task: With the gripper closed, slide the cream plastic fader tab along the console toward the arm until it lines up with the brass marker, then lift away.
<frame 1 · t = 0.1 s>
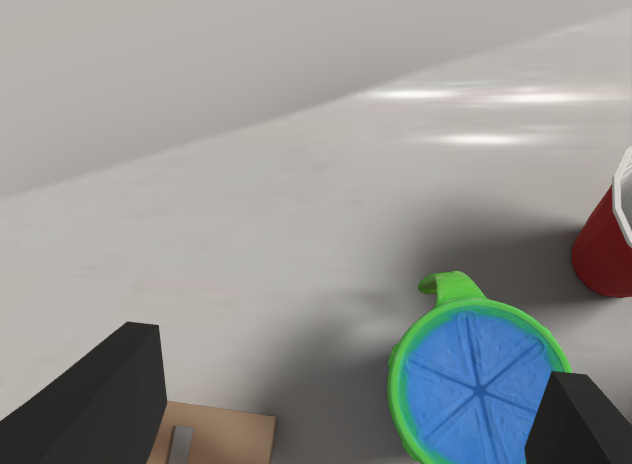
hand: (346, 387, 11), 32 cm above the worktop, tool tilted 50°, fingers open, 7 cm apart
plastic cup: (609, 260, 44), on the worktop
snack cup: (445, 397, 41), on the worktop
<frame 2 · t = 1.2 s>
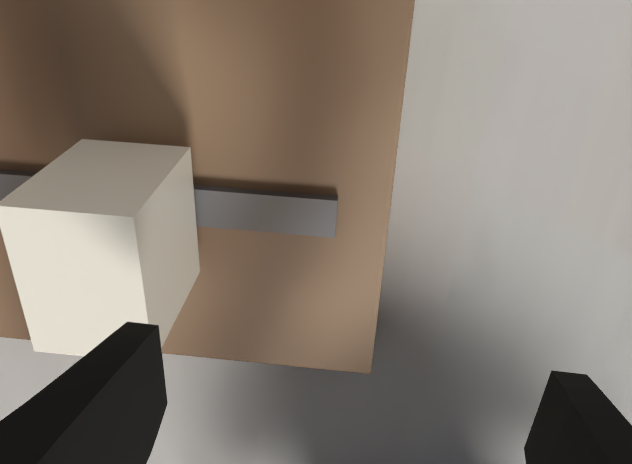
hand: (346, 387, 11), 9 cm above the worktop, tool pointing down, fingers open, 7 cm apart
fader console: (55, 163, 19), on the worktop
fader tab: (115, 244, 14), point 5 cm above the worktop, slide at 0.0 cm
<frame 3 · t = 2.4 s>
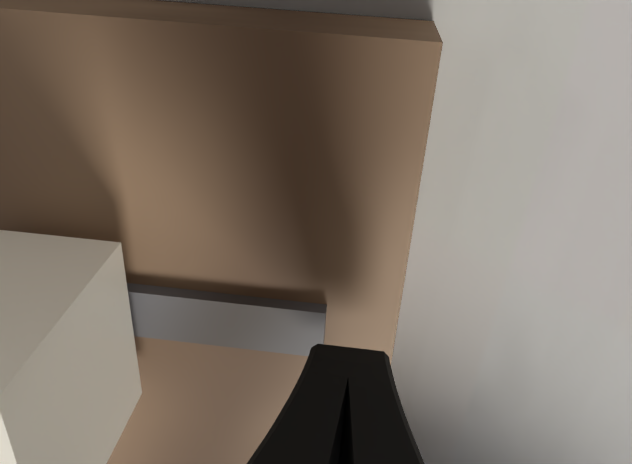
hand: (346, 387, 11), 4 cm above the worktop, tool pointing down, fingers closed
fader tab: (8, 385, 10), point 5 cm above the worktop, slide at 0.0 cm
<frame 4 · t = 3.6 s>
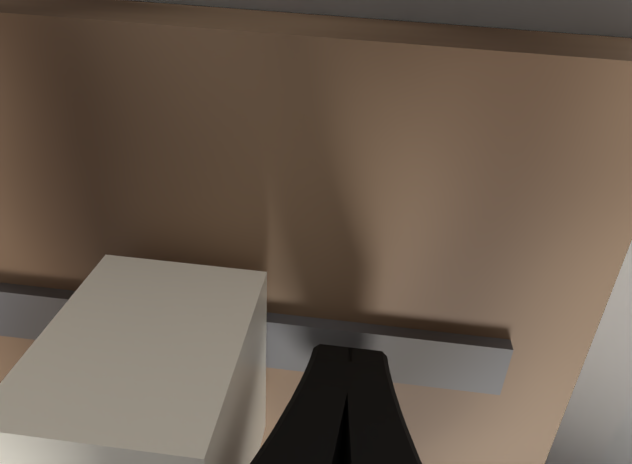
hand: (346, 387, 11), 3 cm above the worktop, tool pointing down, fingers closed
fader console: (92, 259, 14), on the worktop
fader tab: (156, 426, 9), point 5 cm above the worktop, slide at 0.7 cm, touching gripper
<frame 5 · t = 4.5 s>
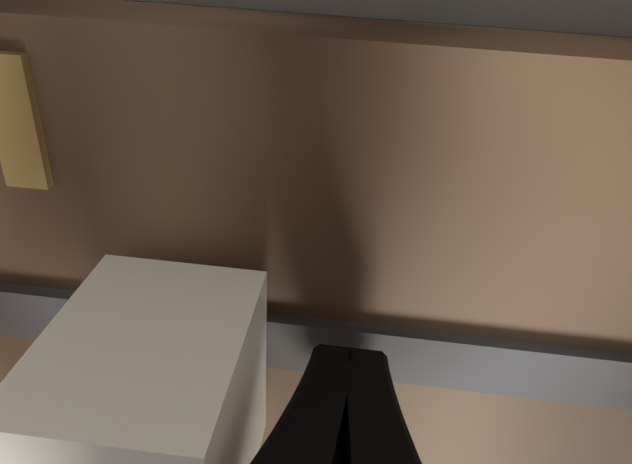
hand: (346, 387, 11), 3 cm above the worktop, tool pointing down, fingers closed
fader console: (306, 282, 13), on the worktop
fader tab: (156, 426, 10), point 5 cm above the worktop, slide at 6.0 cm, touching gripper
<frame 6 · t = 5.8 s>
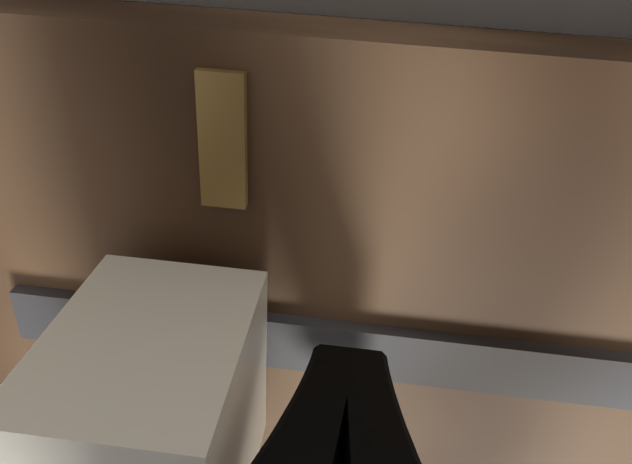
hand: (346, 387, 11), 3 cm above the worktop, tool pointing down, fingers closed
fader console: (461, 299, 13), on the worktop
fader tab: (157, 425, 10), point 5 cm above the worktop, slide at 9.6 cm, touching gripper
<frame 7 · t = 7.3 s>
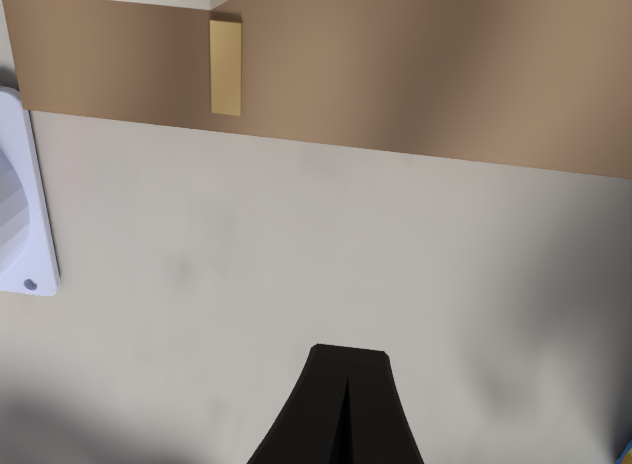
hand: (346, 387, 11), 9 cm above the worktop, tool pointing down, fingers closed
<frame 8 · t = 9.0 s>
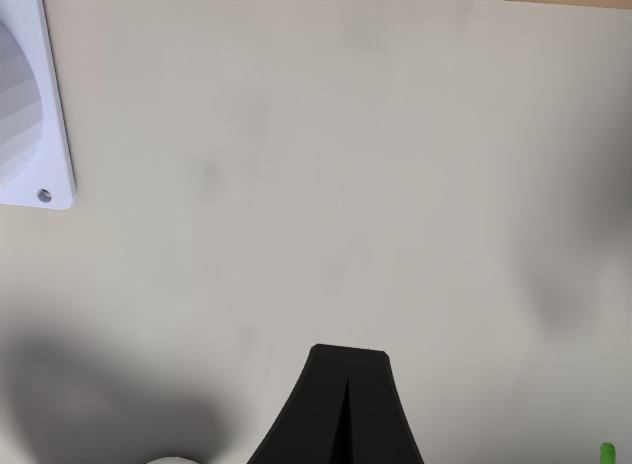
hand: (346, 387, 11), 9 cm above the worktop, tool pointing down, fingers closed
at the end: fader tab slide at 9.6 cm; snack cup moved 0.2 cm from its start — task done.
